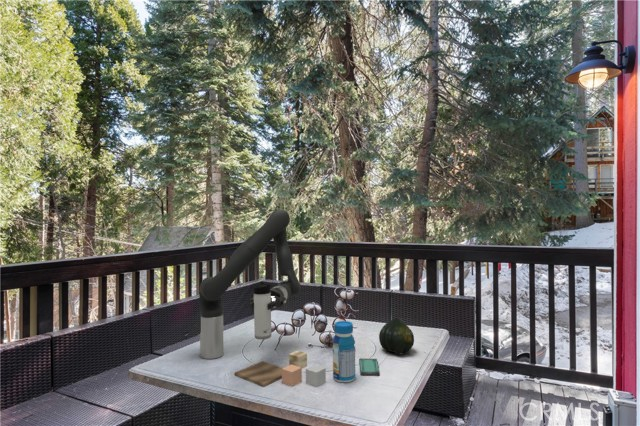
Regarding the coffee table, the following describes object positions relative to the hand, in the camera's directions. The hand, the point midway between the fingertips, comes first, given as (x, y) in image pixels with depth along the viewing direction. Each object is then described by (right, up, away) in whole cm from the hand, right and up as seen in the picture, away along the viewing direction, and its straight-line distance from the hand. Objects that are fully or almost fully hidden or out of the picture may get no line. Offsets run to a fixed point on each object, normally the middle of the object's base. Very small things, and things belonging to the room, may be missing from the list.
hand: (260, 306), depth 141 cm
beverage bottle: (+31, -26, -2) cm, 40 cm away
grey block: (+21, -26, -5) cm, 34 cm away
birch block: (+14, -26, +10) cm, 31 cm away
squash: (+55, -26, +25) cm, 66 cm away
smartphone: (+41, -26, +7) cm, 50 cm away
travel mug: (+1, -12, +2) cm, 12 cm away
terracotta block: (+12, -26, -5) cm, 29 cm away
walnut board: (+1, -26, +2) cm, 26 cm away
